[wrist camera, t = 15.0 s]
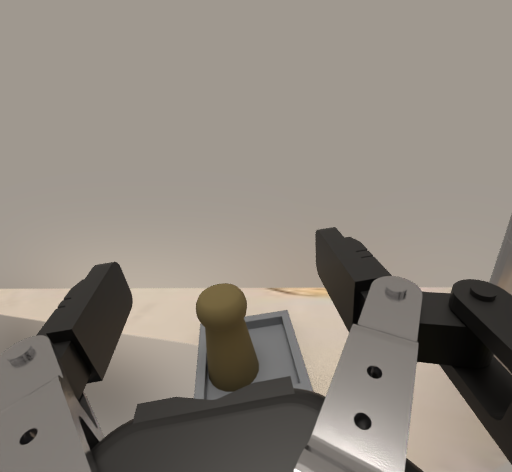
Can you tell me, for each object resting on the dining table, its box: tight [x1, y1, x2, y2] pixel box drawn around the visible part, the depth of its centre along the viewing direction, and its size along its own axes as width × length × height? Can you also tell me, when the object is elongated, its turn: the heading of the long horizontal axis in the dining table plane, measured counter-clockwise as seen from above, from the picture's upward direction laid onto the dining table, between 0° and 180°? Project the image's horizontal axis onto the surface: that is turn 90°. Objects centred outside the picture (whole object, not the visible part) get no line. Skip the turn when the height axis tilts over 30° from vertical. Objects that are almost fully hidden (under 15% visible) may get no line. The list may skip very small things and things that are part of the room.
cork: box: [196, 283, 259, 392], centre depth 31 cm, size 6×6×11 cm
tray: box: [194, 310, 313, 400], centre depth 34 cm, size 12×12×2 cm
